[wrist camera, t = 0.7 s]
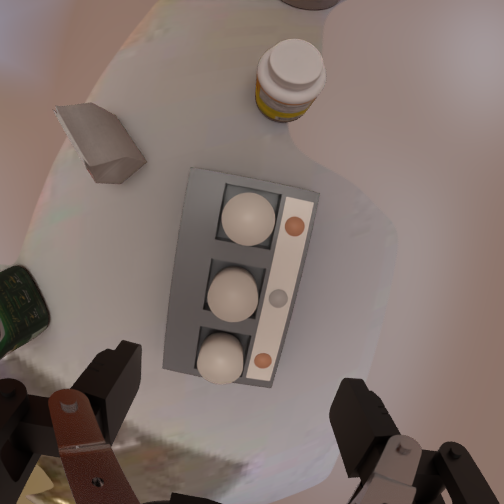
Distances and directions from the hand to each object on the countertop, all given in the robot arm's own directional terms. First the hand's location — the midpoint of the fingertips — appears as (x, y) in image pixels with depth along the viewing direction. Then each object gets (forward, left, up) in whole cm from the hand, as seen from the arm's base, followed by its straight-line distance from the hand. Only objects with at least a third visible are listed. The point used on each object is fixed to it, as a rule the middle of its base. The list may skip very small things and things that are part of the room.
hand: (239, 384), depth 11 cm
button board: (+2, -1, -21) cm, 21 cm away
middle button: (+2, 0, -19) cm, 19 cm away
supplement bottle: (-17, 0, -21) cm, 28 cm away
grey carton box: (-9, -16, -21) cm, 28 cm away
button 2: (-5, -1, -19) cm, 19 cm away
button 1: (+9, 0, -19) cm, 21 cm away
